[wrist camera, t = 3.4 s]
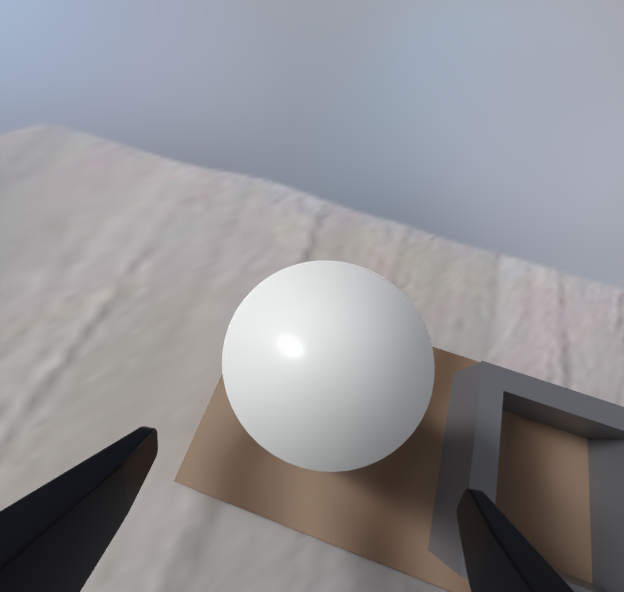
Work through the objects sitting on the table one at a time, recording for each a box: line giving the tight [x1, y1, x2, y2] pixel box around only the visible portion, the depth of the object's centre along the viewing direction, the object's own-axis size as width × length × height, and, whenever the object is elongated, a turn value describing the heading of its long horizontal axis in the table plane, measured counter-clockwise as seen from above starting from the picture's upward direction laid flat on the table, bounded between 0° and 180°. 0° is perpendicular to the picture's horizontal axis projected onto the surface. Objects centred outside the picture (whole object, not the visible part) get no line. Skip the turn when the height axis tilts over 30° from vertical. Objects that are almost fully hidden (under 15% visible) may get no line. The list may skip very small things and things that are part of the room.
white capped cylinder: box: [222, 260, 435, 472], centre depth 13 cm, size 5×5×12 cm
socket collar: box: [428, 361, 624, 592], centre depth 16 cm, size 9×9×4 cm
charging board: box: [174, 347, 592, 592], centre depth 19 cm, size 24×12×1 cm, turn 71°
